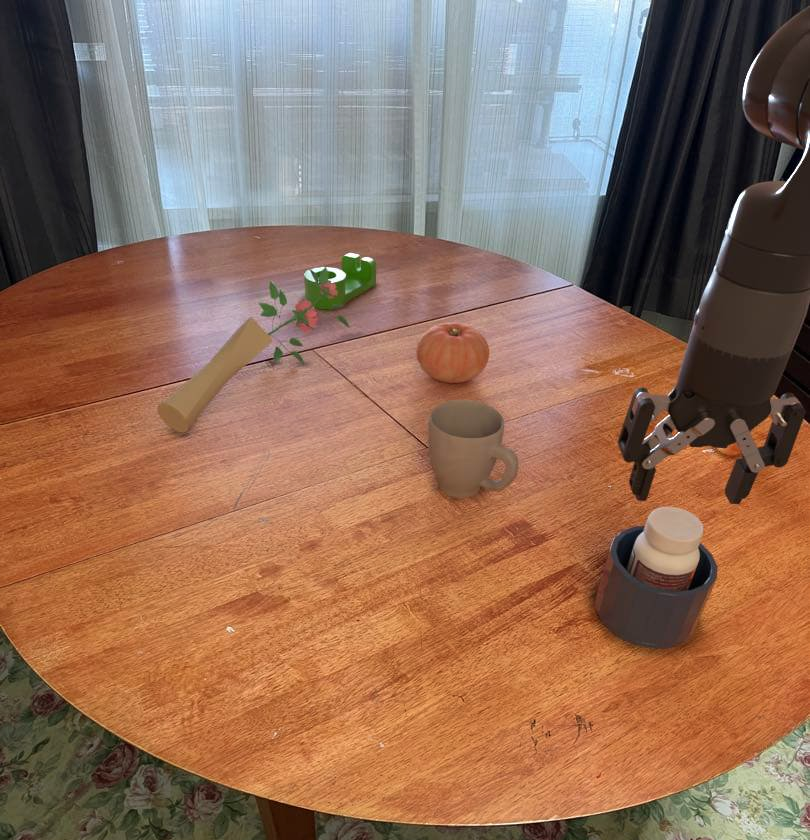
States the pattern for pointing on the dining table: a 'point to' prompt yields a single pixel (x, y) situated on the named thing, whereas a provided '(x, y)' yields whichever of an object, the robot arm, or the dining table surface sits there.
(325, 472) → the dining table surface
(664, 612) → the pen holder
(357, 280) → the tape dispenser
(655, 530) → the pill bottle
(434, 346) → the pumpkin
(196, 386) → the flower vase
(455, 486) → the mug
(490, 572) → the dining table surface
